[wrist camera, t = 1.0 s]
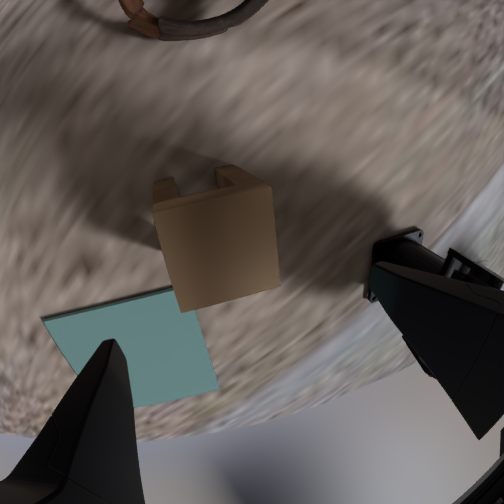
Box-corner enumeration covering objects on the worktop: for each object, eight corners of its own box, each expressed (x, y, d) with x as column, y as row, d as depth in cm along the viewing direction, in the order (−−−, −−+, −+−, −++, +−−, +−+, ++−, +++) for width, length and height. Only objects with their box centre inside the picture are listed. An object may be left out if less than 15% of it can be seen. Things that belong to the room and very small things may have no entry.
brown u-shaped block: (233, 164, 18) (271, 187, 12) (243, 236, 20) (280, 285, 14) (154, 181, 17) (152, 213, 11) (171, 254, 19) (180, 313, 13)
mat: (187, 283, 20) (188, 286, 20) (219, 385, 26) (220, 388, 25) (44, 318, 18) (43, 321, 17) (106, 408, 23) (106, 412, 23)
